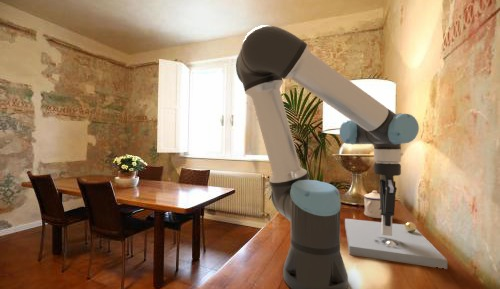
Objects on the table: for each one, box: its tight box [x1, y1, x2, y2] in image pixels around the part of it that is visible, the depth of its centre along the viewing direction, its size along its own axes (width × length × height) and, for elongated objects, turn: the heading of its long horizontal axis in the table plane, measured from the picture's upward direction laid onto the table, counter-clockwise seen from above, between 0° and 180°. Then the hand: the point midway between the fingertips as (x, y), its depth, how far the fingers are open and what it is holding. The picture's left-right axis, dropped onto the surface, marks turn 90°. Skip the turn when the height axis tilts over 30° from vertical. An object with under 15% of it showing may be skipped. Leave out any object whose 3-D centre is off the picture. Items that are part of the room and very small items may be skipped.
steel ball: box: [385, 241, 397, 246], centre depth 72 cm, size 3×3×3 cm
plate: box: [344, 218, 448, 270], centre depth 79 cm, size 28×24×2 cm
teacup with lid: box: [363, 190, 382, 219], centre depth 108 cm, size 12×9×12 cm
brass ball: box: [404, 221, 417, 232], centre depth 81 cm, size 3×3×3 cm
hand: (386, 234), depth 75 cm, fingers closed
